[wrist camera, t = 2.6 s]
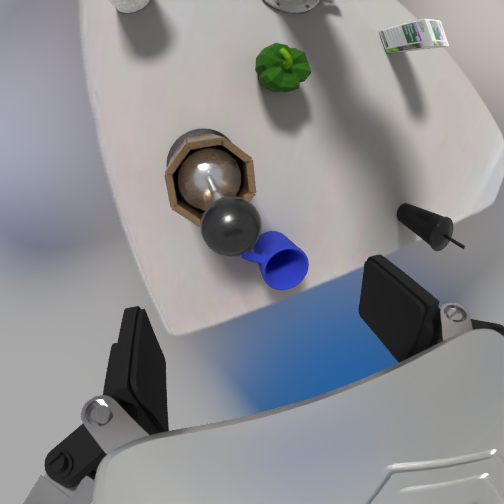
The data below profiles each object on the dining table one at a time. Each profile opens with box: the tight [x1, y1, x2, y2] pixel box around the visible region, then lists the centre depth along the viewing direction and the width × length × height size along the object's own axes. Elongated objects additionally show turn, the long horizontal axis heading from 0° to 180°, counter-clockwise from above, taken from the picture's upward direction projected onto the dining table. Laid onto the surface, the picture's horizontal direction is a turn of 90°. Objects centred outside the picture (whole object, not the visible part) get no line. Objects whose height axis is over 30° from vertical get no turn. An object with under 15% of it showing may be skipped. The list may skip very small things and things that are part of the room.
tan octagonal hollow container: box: [165, 129, 256, 227], centre depth 39 cm, size 12×14×18 cm
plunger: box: [178, 148, 261, 256], centre depth 25 cm, size 8×8×19 cm
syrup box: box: [379, 19, 449, 53], centre depth 35 cm, size 6×6×14 cm
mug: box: [241, 231, 309, 290], centre depth 51 cm, size 8×12×10 cm
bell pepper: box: [255, 43, 311, 92], centre depth 37 cm, size 8×8×10 cm
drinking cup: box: [397, 203, 465, 251], centre depth 52 cm, size 8×8×20 cm
